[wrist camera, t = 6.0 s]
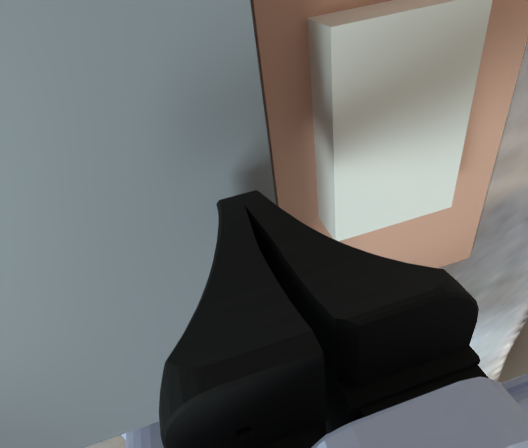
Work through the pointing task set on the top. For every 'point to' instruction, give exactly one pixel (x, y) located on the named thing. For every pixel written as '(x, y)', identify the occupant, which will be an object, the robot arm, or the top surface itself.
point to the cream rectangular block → (391, 108)
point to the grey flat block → (113, 199)
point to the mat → (302, 132)
